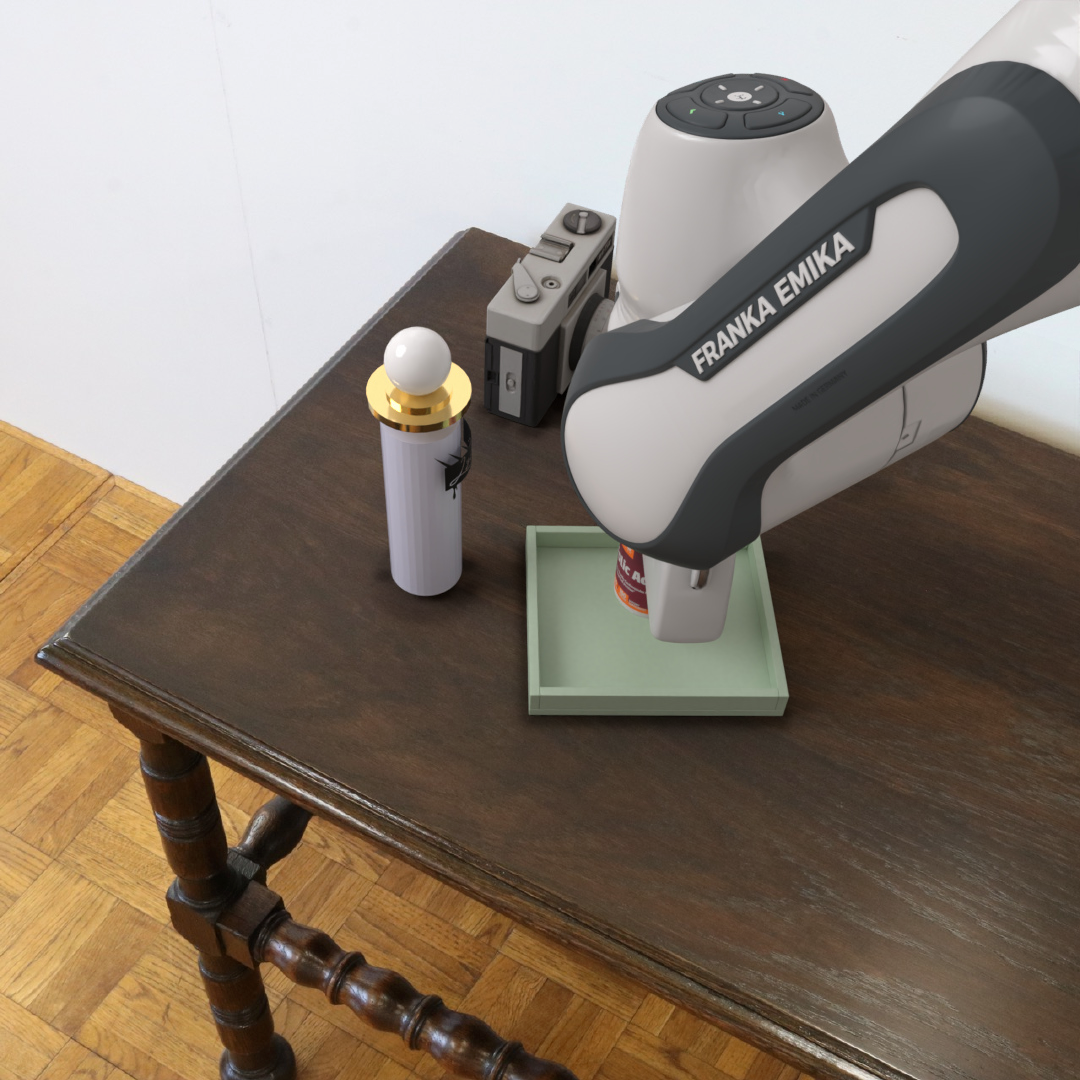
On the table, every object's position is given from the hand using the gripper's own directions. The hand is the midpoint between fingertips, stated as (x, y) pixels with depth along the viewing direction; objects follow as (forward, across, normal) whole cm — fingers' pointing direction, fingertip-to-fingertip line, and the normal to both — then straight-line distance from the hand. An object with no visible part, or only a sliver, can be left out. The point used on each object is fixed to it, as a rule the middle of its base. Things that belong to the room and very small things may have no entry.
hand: (658, 559), depth 74 cm
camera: (+7, +24, +4) cm, 25 cm away
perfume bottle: (+7, +4, +14) cm, 16 cm away
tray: (+7, 0, 0) cm, 7 cm away
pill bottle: (+3, 0, 0) cm, 3 cm away
